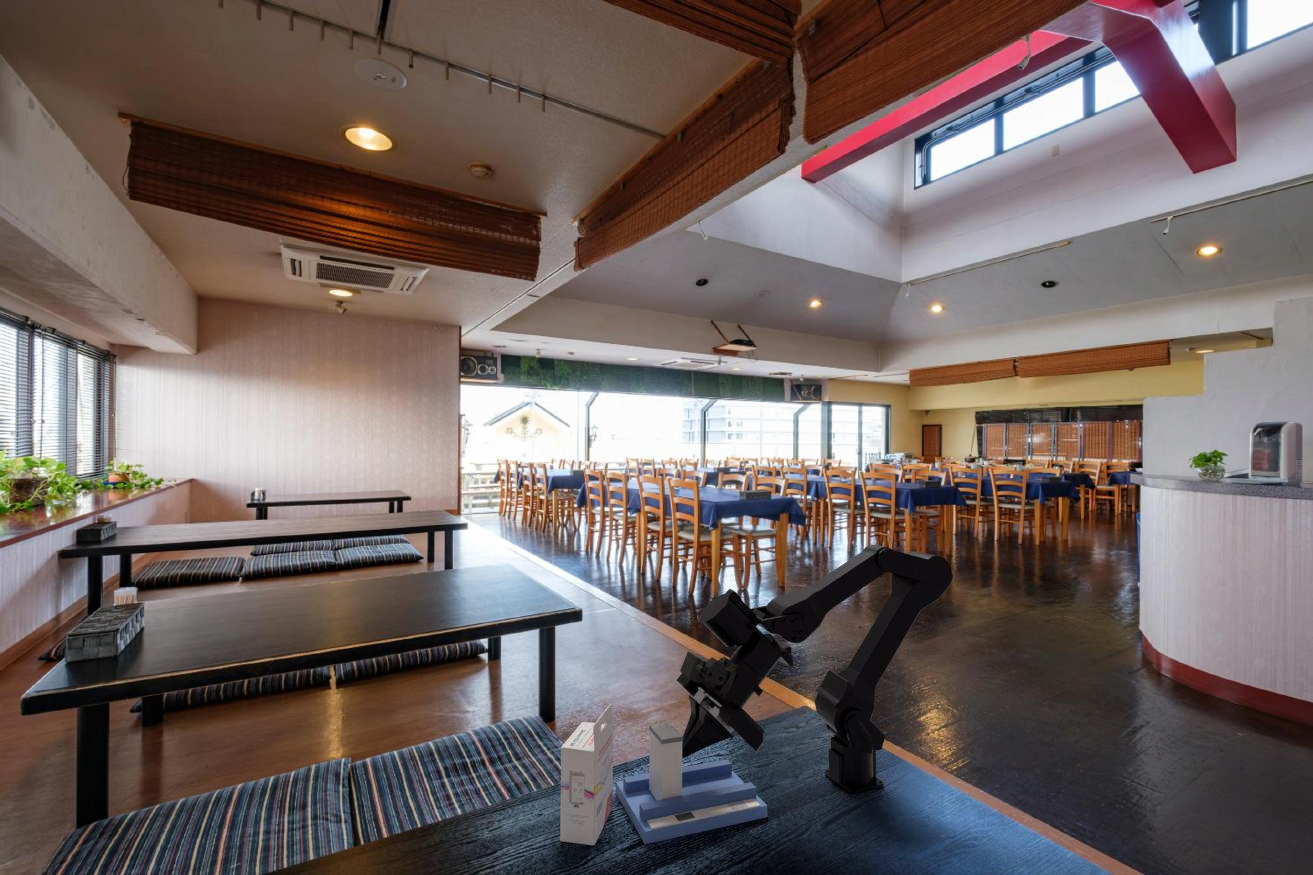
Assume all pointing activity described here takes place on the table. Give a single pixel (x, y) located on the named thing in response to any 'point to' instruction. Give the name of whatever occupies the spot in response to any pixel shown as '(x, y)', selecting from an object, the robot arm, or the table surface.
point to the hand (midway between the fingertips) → (680, 754)
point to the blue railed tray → (691, 802)
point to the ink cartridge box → (587, 780)
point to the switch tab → (665, 761)
